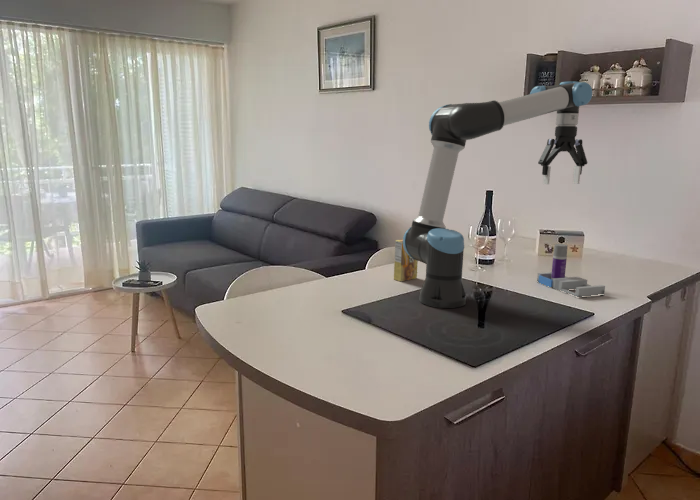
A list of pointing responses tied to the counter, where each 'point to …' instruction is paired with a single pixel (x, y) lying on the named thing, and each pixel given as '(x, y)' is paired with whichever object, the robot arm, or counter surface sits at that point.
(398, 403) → the counter surface
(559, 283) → the grey and blue rack
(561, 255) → the container
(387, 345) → the counter surface
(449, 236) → the robot arm
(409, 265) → the candy box
